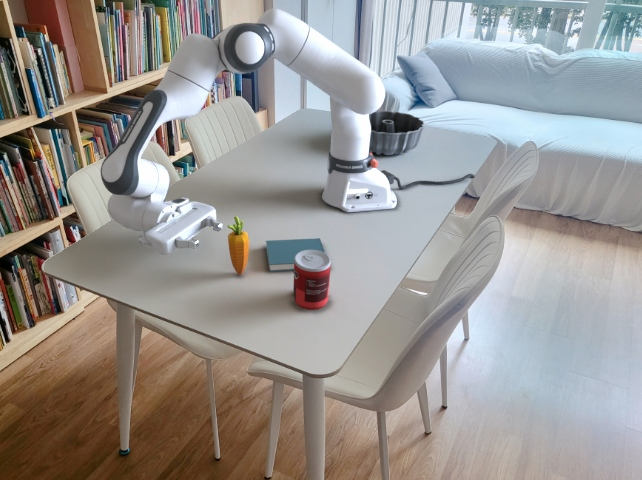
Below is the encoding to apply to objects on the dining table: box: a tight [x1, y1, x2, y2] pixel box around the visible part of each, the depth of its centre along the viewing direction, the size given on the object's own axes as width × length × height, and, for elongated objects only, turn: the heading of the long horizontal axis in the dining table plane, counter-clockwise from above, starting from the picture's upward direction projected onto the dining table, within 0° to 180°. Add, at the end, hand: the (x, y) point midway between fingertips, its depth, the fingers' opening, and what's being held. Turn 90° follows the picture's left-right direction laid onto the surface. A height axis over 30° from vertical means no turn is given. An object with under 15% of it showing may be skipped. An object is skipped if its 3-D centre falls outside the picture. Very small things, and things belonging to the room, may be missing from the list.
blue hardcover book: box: [265, 237, 326, 273], centre depth 130 cm, size 14×11×2 cm
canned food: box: [292, 250, 332, 311], centre depth 114 cm, size 8×8×11 cm
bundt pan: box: [369, 110, 425, 156], centre depth 192 cm, size 26×26×10 cm
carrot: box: [227, 216, 250, 276], centre depth 120 cm, size 5×5×15 cm
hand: (209, 236), depth 123 cm, fingers open, 8 cm apart
